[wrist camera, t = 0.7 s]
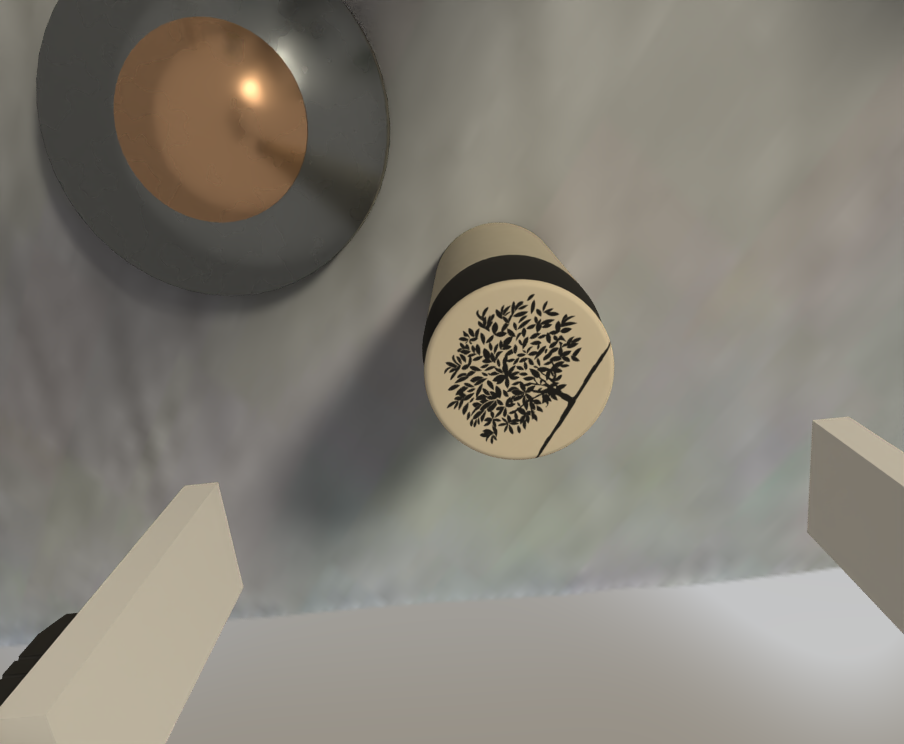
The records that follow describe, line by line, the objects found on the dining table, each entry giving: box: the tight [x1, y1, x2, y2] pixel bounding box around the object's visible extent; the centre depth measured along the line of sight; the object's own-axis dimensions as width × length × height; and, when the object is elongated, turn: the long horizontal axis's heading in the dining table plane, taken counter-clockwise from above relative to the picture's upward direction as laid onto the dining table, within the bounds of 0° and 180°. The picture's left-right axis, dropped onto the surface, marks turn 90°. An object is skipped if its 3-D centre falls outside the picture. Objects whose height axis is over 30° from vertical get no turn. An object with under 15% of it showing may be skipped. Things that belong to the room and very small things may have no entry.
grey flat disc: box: [36, 0, 390, 296], centre depth 39 cm, size 20×20×2 cm
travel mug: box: [422, 223, 614, 460], centre depth 35 cm, size 8×8×18 cm
